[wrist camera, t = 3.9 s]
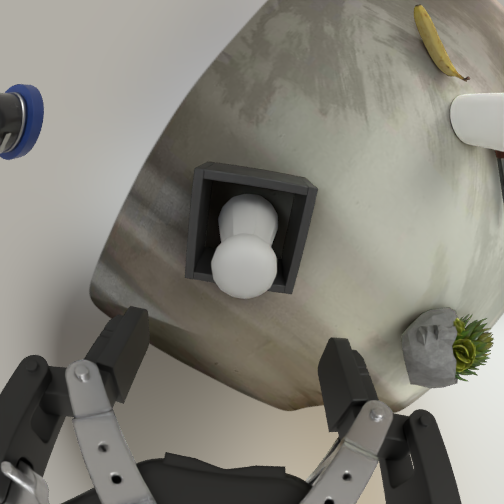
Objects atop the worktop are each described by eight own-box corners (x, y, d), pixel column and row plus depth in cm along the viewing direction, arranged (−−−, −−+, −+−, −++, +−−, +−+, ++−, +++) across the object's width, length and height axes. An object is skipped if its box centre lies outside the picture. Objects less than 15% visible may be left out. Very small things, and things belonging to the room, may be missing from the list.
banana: (397, 16, 19) (412, 5, 15) (409, 11, 18) (425, 1, 14) (444, 87, 22) (464, 84, 18) (455, 80, 21) (474, 78, 17)
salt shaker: (211, 222, 29) (180, 284, 17) (241, 177, 27) (228, 212, 16) (256, 251, 31) (255, 326, 19) (287, 209, 29) (309, 265, 17)
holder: (197, 252, 31) (184, 278, 25) (207, 161, 27) (194, 168, 21) (286, 266, 31) (291, 294, 26) (305, 177, 27) (318, 188, 22)
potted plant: (397, 315, 30) (499, 283, 24) (397, 322, 40) (475, 299, 34) (407, 408, 25) (511, 375, 19) (405, 391, 36) (484, 368, 29)
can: (481, 147, 24) (548, 164, 13) (448, 141, 24) (520, 155, 13) (479, 100, 22) (545, 103, 11) (445, 90, 22) (516, 85, 11)
